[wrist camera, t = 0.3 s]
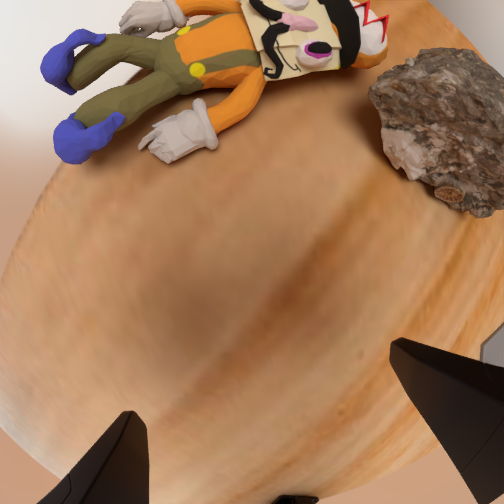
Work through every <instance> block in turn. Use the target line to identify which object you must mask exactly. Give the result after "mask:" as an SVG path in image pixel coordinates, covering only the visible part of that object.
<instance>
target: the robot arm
mask: <svg viewBox="0 0 504 504" xmlns="http://www.w3.org/2000/svg"><path fill="white" fill-rule="evenodd" d="M389 360H390V364H391V366H392V368H393V369H394V371H395V373H396V375H397V377H398V378H399V380H400V382H401V384H402V386H403V388H404V390H405V391H406V393H407V395H408V396H409V398H410V400H411V401H412V402H413V404H414V405H415V407H416V408H417V410H418V411H419V412H420V414H421V415H422V417H423V418H424V420H425V421H426V423H427V424H428V425H429V427H430V428H431V430H432V431H433V433H434V434H435V436H436V437H437V439H438V440H439V442H440V443H441V445H442V446H443V448H444V449H445V451H446V452H447V454H448V455H449V457H450V458H451V460H452V462H453V463H454V465H455V466H456V468H457V470H458V471H459V473H460V474H461V476H462V477H463V479H464V481H465V483H466V484H467V486H468V488H469V489H470V491H471V492H472V494H473V496H474V498H475V499H476V501H477V503H478V504H489V503H491V502H492V501H494V500H495V499H497V498H498V497H499V496H501V495H502V494H503V493H504V367H500V366H496V365H492V364H489V363H484V362H482V361H478V360H475V359H471V358H468V357H464V356H461V355H458V354H454V353H451V352H448V351H444V350H441V349H438V348H435V347H431V346H428V345H425V344H422V343H419V342H416V341H412V340H409V339H406V338H403V337H400V338H398V339H396V340H394V341H392V342H391V345H390V357H389ZM318 501H319V499H318V498H315V497H296V496H284V495H283V496H280V497H279V498H278V499H276V500H275V501H274V502H273V503H272V504H316V503H317V502H318ZM37 504H149V453H148V439H147V428H146V425H145V423H144V422H143V421H142V420H141V418H140V417H139V416H138V414H137V413H136V412H135V411H124V412H122V413H121V414H120V415H119V417H118V418H117V419H116V420H115V421H114V422H113V423H112V425H111V426H110V427H109V428H108V429H107V430H106V431H105V432H104V434H103V435H102V436H101V437H100V438H99V439H98V440H97V441H96V443H95V444H94V445H93V446H92V447H91V448H90V449H89V450H88V452H87V453H86V454H85V455H84V456H83V457H82V458H81V459H80V461H79V462H78V463H77V464H76V465H75V466H74V467H73V468H72V469H71V471H70V472H69V473H68V474H67V475H66V476H65V477H64V478H63V479H62V480H61V482H60V483H59V484H58V485H57V486H56V487H55V488H54V489H53V490H51V492H49V493H48V494H47V495H46V496H45V497H44V498H43V499H41V500H40V501H39V502H38V503H37Z"/></svg>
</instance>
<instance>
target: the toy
mask: <svg viewBox="0 0 504 504" xmlns="http://www.w3.org/2000/svg"><path fill="white" fill-rule="evenodd" d="M369 5H370V0H369V1H367V2H364V3H359V2H356V1H353V0H240V2H238V1H235V0H163V2H141V1H136V2H134V3H133V4H132V6H131V7H130V8H129V9H128V10H127V11H126V13H125V14H124V15H123V16H122V19H121V21H120V22H119V26H120V27H121V28H120V33H121V34H95V33H92V32H90V31H88V30H85V29H79V30H76V31H74V32H73V33H72V34H70V35H69V36H68V38H67V39H66V40H65V41H64V42H63V43H60V44H58V45H56V46H54V47H53V48H51V49H50V50H49V51H48V53H47V54H46V55H45V56H44V58H43V60H42V63H41V67H40V69H41V73H42V75H43V77H44V79H45V81H46V82H48V83H50V84H52V85H54V86H55V87H57V88H58V89H60V90H62V91H63V92H65V93H67V94H69V95H74V94H75V93H76V92H77V91H78V90H82V89H84V88H85V87H87V86H88V85H89V84H91V83H92V82H93V81H95V80H97V79H98V78H99V77H100V76H101V75H102V74H104V73H105V72H106V71H107V70H109V69H110V68H112V67H113V66H115V65H117V64H118V63H119V62H126V63H130V64H133V65H136V66H139V67H142V68H145V69H148V70H151V71H154V72H153V73H151V74H149V75H148V76H146V77H144V78H143V79H141V80H139V81H138V82H136V83H134V84H131V85H123V86H118V87H114V88H111V89H109V90H107V91H104V92H102V93H100V94H98V95H96V96H94V97H93V98H91V99H89V100H88V101H86V102H85V103H83V104H82V105H81V106H80V107H79V108H78V109H77V111H76V112H74V113H72V114H70V116H69V117H68V119H66V120H63V121H61V123H60V124H59V125H58V126H57V127H56V129H55V130H54V135H53V140H54V149H55V152H56V154H57V155H58V156H59V157H60V158H61V159H62V160H63V161H64V162H66V163H69V164H82V163H83V162H85V161H86V160H88V159H89V157H90V156H91V155H92V152H93V151H97V150H100V149H102V148H103V147H105V146H107V145H108V143H109V142H110V141H111V139H112V137H113V135H114V132H117V131H120V130H122V129H124V128H126V127H127V126H129V125H130V124H132V123H134V122H135V121H136V120H137V119H138V118H139V117H140V116H141V115H142V114H143V113H144V112H145V111H146V110H148V109H149V108H151V107H153V106H155V105H157V104H159V103H161V102H164V101H166V100H168V99H170V98H172V97H174V96H176V95H177V94H181V95H188V94H190V93H193V92H195V91H198V90H202V89H207V88H212V87H214V88H235V89H234V90H233V91H232V93H231V94H230V95H229V96H228V97H227V98H226V99H224V100H223V101H222V102H221V103H219V104H218V105H216V106H214V107H210V108H207V107H206V104H205V101H204V100H202V99H201V98H197V99H195V100H194V101H193V103H192V108H193V110H192V109H186V110H183V111H182V112H181V113H179V114H178V115H171V116H169V117H167V118H166V119H164V120H162V121H160V122H158V123H156V124H154V125H152V127H153V128H154V130H153V131H151V132H150V133H149V134H148V135H146V136H145V137H144V138H143V139H142V141H141V142H140V144H139V145H138V149H139V150H141V149H143V148H144V147H145V146H146V144H147V143H148V142H149V141H151V140H153V139H154V141H153V142H152V143H151V144H150V145H149V146H148V148H149V151H150V153H152V154H155V155H156V156H157V157H158V158H159V159H160V160H162V161H165V162H166V163H167V164H169V163H171V162H172V161H175V160H177V159H179V158H180V157H182V156H184V155H186V154H188V153H190V152H192V151H194V150H196V149H198V148H202V147H205V146H206V147H207V148H209V149H211V150H213V149H215V148H216V147H217V146H218V145H219V142H218V139H217V136H216V134H217V133H219V132H220V131H221V130H223V129H226V128H228V127H230V126H231V125H233V124H235V123H236V122H238V121H240V120H242V119H243V118H244V117H245V116H247V115H248V114H249V112H250V111H251V110H252V109H253V108H254V107H255V105H256V104H257V102H258V100H259V98H260V96H261V93H262V91H263V89H264V86H265V84H266V83H267V82H268V81H271V80H280V79H285V78H291V77H296V76H300V75H303V74H307V73H310V72H314V71H323V70H333V69H339V68H347V67H349V66H352V67H357V68H364V69H369V68H371V67H374V66H376V65H378V64H380V63H381V62H382V61H383V60H384V59H385V58H386V56H387V50H388V43H389V39H388V36H387V34H386V29H387V23H388V18H389V15H386V16H383V17H381V18H378V17H377V16H376V15H375V14H374V13H373V11H372V10H370V9H369ZM195 15H212V16H213V17H210V18H208V19H206V20H203V21H201V22H199V23H196V24H192V25H189V26H186V23H187V21H188V20H189V18H190V17H192V16H195ZM185 26H186V27H185ZM175 27H177V28H181V29H179V30H177V31H176V32H175V33H174V34H171V35H169V36H166V37H165V38H163V39H162V40H157V39H152V38H146V37H147V36H149V35H151V34H152V33H154V32H156V31H157V32H167V31H170V30H172V29H173V28H175ZM139 28H141V29H140V30H139ZM138 30H139V31H138ZM124 34H125V35H124ZM85 44H89V45H88V46H86V47H85V48H84V49H83V50H82V51H81V52H80V53H78V54H77V55H76V56H75V57H74V49H75V48H77V47H78V46H81V45H85Z"/></svg>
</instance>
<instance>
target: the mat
mask: <svg viewBox="0 0 504 504" xmlns="http://www.w3.org/2000/svg"><path fill="white" fill-rule="evenodd" d="M480 361H482V362H484V363H489V364H492V365H496V366H500V367H504V323H503V324H502V325H501V326H500V327H499V328H498V329H497V330H496V331H495V332H494V333H493V334H492V335H491V336H490V337H489V338H488V339H487V340H486V341H485V342H484V343H482V344H481V355H480Z"/></svg>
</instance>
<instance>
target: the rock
mask: <svg viewBox="0 0 504 504" xmlns="http://www.w3.org/2000/svg"><path fill="white" fill-rule="evenodd" d="M368 97H369V101H370V102H372V103H373V105H374V106H375V108H376V109H377V110H378V112H379V115H380V119H381V122H382V129H381V137H382V140H383V149H384V153H385V154H386V156H387V157H388V158H389V160H390V161H391V164H392V165H393V167H395V168H396V169H397V170H398V169H399V168H400V167H402V168H403V169H404V170H405V172H406V174H407V177H408V179H409V181H410V180H412V181H415V180H417V179H420V180H422V181H424V182H426V183H427V184H430V185H431V186H435V190H434V193H435V197H436V198H439V199H441V200H443V201H445V202H447V203H448V204H449V205H450V206H451V208H452V209H453V210H456V209H459V208H460V209H461V210H462V211H463V212H464V211H470V215H474V217H475V218H485V217H489V216H491V215H492V214H493V213H494V211H495V210H502V209H504V78H503V77H502V76H501V75H500V74H499V73H498V72H497V71H496V70H495V69H494V68H493V67H491V66H490V65H488V64H487V63H485V62H484V61H482V59H481V58H480V57H479V56H478V55H477V54H476V53H475V52H474V51H472V50H468V49H461V50H459V49H456V48H431V49H421V50H420V51H419V54H418V56H417V57H416V58H412V57H408V58H406V61H405V64H403V65H396V66H394V67H393V68H392V69H390V70H388V71H386V72H384V73H383V75H381V76H379V77H378V80H377V82H375V83H374V84H373V85H371V86H370V88H369V93H368Z"/></svg>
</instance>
